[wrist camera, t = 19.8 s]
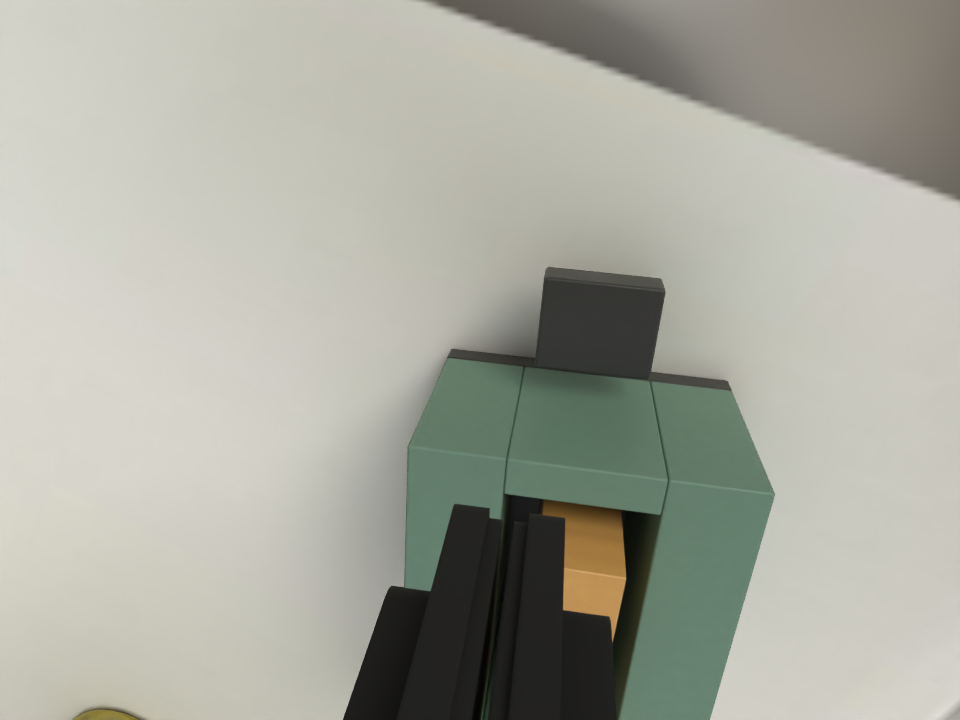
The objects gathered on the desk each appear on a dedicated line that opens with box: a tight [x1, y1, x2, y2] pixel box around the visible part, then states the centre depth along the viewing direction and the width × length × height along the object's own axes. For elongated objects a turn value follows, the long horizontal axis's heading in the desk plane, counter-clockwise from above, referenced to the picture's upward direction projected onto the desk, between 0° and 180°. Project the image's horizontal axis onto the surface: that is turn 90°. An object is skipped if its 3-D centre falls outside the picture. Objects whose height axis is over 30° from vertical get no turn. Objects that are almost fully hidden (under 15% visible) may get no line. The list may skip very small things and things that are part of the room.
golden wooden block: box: [538, 499, 626, 643], centre depth 24 cm, size 8×2×8 cm, turn 175°
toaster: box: [404, 349, 775, 720], centre depth 25 cm, size 12×10×7 cm
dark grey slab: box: [535, 267, 665, 380], centre depth 22 cm, size 3×4×1 cm
